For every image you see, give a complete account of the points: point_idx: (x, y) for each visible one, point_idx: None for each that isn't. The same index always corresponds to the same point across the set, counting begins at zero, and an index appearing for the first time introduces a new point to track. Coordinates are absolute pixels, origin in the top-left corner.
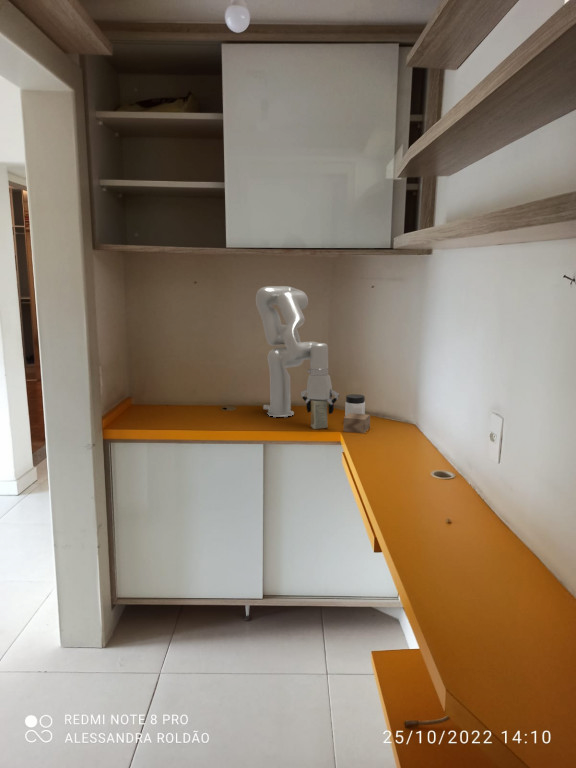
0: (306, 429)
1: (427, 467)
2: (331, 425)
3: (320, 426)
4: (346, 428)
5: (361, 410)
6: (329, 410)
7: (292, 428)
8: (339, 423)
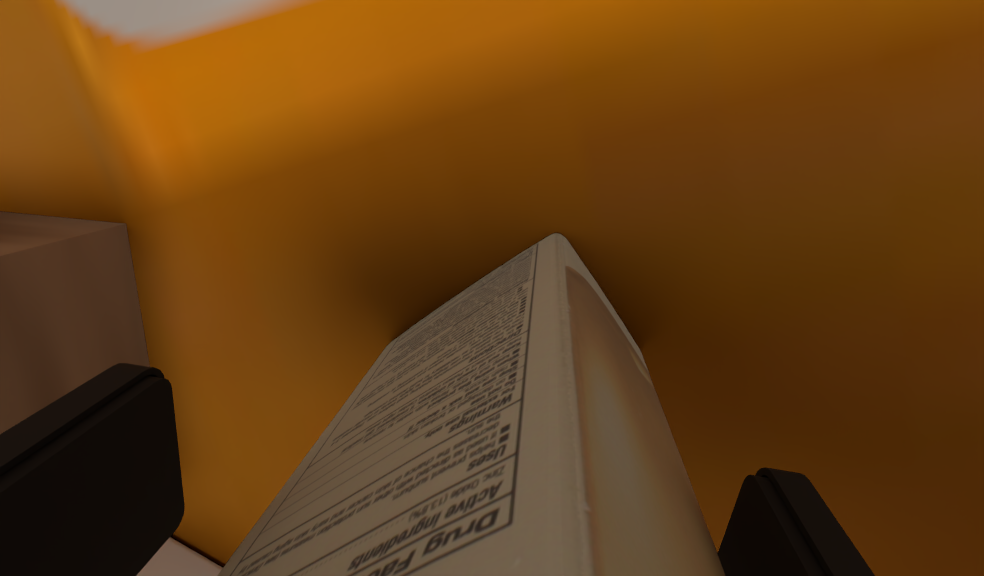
0: (686, 182)
1: None
2: None
3: (467, 292)
4: (45, 229)
5: None
6: (63, 407)
7: (961, 181)
8: None
